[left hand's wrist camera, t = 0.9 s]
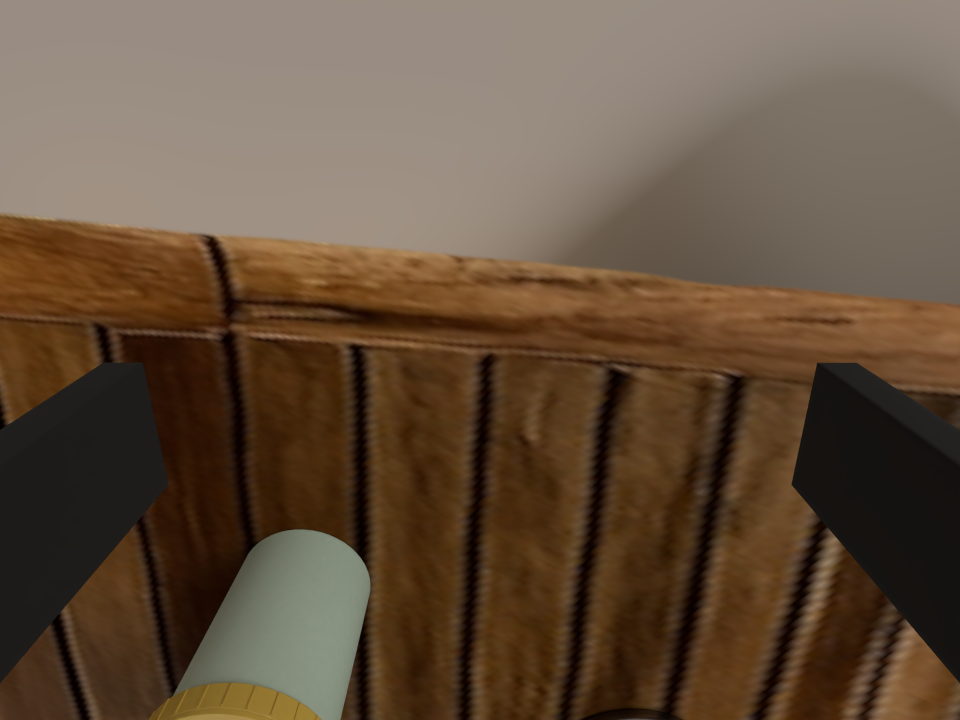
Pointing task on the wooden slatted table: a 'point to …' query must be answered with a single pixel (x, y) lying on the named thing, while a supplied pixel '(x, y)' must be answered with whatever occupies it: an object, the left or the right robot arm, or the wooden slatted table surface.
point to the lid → (232, 704)
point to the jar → (289, 622)
